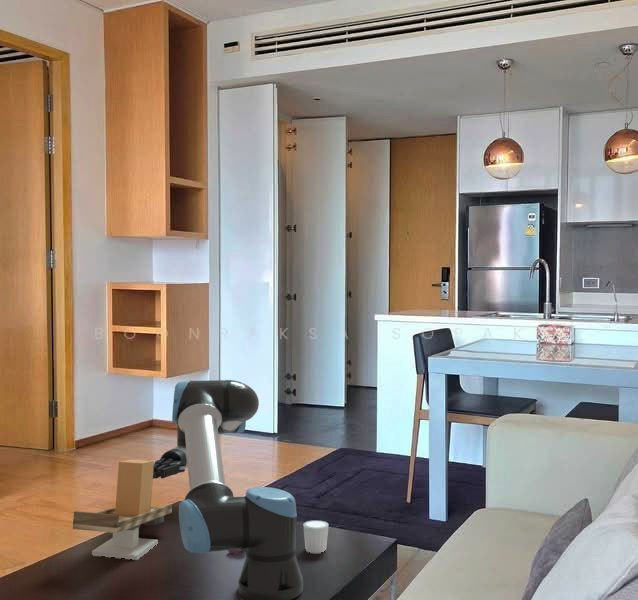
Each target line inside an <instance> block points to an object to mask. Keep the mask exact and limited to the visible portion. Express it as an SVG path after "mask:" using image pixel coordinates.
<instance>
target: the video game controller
mask: <svg viewBox="0 0 638 600" xmlns="http://www.w3.org/2000/svg"><path fill="white" fill-rule="evenodd" d="M240 551H241V552H244V551H246V549H237V550H227V552H228V553H229V554H230V555H231V554H232V555H233V554H237V553H239V552H240Z"/></svg>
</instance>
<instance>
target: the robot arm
mask: <svg viewBox="0 0 638 600" xmlns="http://www.w3.org/2000/svg"><path fill="white" fill-rule="evenodd" d="M259 401H260V400H259V396H258V394H257V392H256V391H255V390H254V389H253V388H252V387H251V386H249V384H245V383H243V382H241V381H238V380H233V379H223V380H221V379H220V380H215V379H214V380H212V379H211V380H191V379H190V380H185V381H178V382H177V383H176V384H175V386H174V391H173V402H172V404H173V405H172V415H171V421H172V424H175V425H176V427H177V429H176V431H177V434H176V436H177V440H176V446H175V447H173V448H171V449H170V450H166V452H164V453H163V454H162V455H161V457H160V459H157V460H154V468H153V480H157V479H159V478H161V479H165V478H168V477H171V476H175V475H177V474H179V473H184V472H186V469H187V472H188V473H187V474H188V475H187V476H188V484H189V486H188V487H189V490H188V491H187V493H186V495H185V497H184V500H181V501H180V502H179V504H178V522H179V532H180V535H181V536H180V537H181V540H182V544H183V547H184V549H185V550H186V551H187V552H189V553H190V554H191V553H192V554H193V553H198V554H199V553H202V554H208V553H209V552H210V553H212V552H222V551H228V550H237V549H245V560H244V563H243V566H242V568H241V571H240V575H239V578H238V581H237V582H238V584H237V586H238V588H237V589H238V594H239V595H240V596H241V597H242V598H244V599H245V600H294V599H296V598H297V597H299V596H301V594H302V593H303V590H304V578H303V575H302V572H301V569H300V566H299V563H298V559H297V556H296V555H297V552H296V549H297V516H298V514H297V505H296V499H295V497H294V496H293V495H292V494H291V493H290V492H288V491H286V490H283V489H280V488H275V487H267V486H255V487H250V488H248V489H247V490H246V492H245V495H244V496H234V493H233V490H232V489H231V488H230V486H229V485H227V484H226V481H225V474H224V465H223V459H222V452H221V446H220V445H221V444H220V438H219V436H220V435H219V434H237V433H243V432H245V430H246V426H247V425H246V423H247V421H249V420H251V419H252V418H253V417H254V416H255V415H256V414H257V412H258V409H259V406H260V402H259ZM147 461H150V460H149V459H148V460H147Z"/></svg>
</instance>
